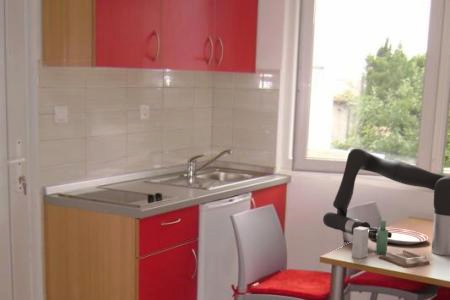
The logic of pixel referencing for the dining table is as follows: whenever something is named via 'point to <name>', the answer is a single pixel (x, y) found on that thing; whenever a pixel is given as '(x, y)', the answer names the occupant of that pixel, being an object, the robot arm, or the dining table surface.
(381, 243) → the green bottle
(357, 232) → the skincare box
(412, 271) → the dining table surface
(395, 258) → the bottle holder
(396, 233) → the dinner plate
